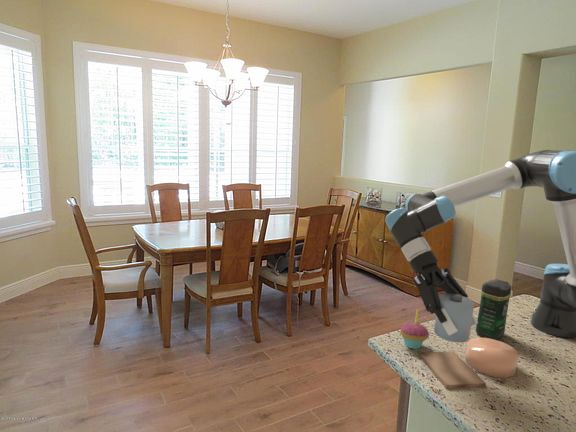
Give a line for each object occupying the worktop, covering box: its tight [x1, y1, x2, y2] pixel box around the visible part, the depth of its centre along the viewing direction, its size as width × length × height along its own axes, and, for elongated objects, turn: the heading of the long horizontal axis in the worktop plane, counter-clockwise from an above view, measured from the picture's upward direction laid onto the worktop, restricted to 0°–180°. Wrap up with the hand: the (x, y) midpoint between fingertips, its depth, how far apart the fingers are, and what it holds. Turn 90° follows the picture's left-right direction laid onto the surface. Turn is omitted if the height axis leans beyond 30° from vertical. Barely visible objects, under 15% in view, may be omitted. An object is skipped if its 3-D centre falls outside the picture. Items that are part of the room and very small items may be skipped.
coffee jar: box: [475, 278, 512, 340], centre depth 132 cm, size 10×8×19 cm
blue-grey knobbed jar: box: [433, 293, 475, 343], centre depth 108 cm, size 9×9×11 cm
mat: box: [418, 351, 487, 389], centre depth 111 cm, size 11×16×1 cm
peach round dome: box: [465, 337, 519, 379], centre depth 114 cm, size 13×13×5 cm
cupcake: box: [399, 307, 430, 350], centre depth 123 cm, size 9×8×12 cm
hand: (463, 329), depth 106 cm, fingers closed on blue-grey knobbed jar, 9 cm apart
